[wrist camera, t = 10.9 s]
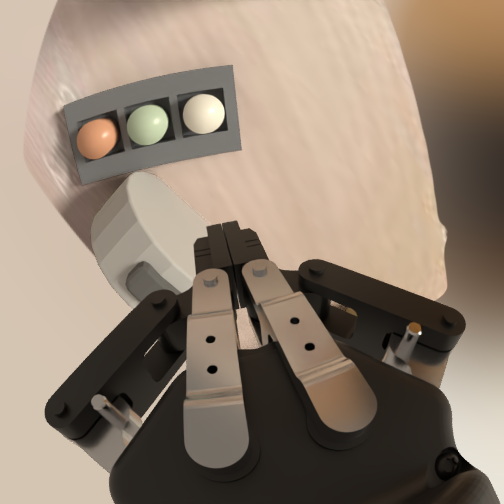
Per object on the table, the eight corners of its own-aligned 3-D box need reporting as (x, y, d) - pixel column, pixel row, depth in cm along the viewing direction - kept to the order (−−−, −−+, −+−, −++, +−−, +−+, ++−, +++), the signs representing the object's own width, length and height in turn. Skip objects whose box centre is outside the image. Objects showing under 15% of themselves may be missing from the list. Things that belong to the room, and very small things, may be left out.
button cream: (181, 97, 33) (180, 98, 29) (218, 91, 34) (222, 91, 30) (186, 132, 36) (186, 137, 32) (222, 125, 36) (226, 130, 33)
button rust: (84, 123, 31) (73, 127, 27) (116, 112, 32) (108, 115, 28) (91, 155, 34) (81, 163, 30) (123, 146, 34) (116, 153, 31)
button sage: (130, 109, 32) (123, 111, 28) (166, 100, 33) (163, 101, 29) (137, 143, 35) (131, 149, 31) (171, 134, 35) (170, 140, 32)
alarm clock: (108, 194, 39) (64, 271, 22) (139, 158, 37) (105, 216, 21) (203, 272, 50) (217, 364, 34) (234, 245, 48) (263, 334, 32)
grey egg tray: (71, 104, 30) (63, 105, 27) (229, 66, 33) (232, 64, 30) (88, 179, 37) (82, 185, 34) (238, 146, 39) (241, 150, 37)
